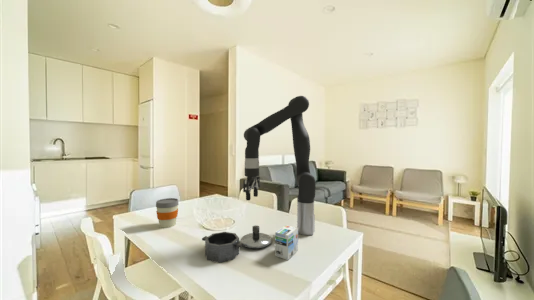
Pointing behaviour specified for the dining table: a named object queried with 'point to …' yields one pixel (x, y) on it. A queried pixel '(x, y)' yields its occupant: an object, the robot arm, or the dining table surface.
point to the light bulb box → (286, 242)
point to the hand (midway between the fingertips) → (252, 198)
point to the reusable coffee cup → (167, 212)
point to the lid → (256, 239)
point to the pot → (222, 246)
